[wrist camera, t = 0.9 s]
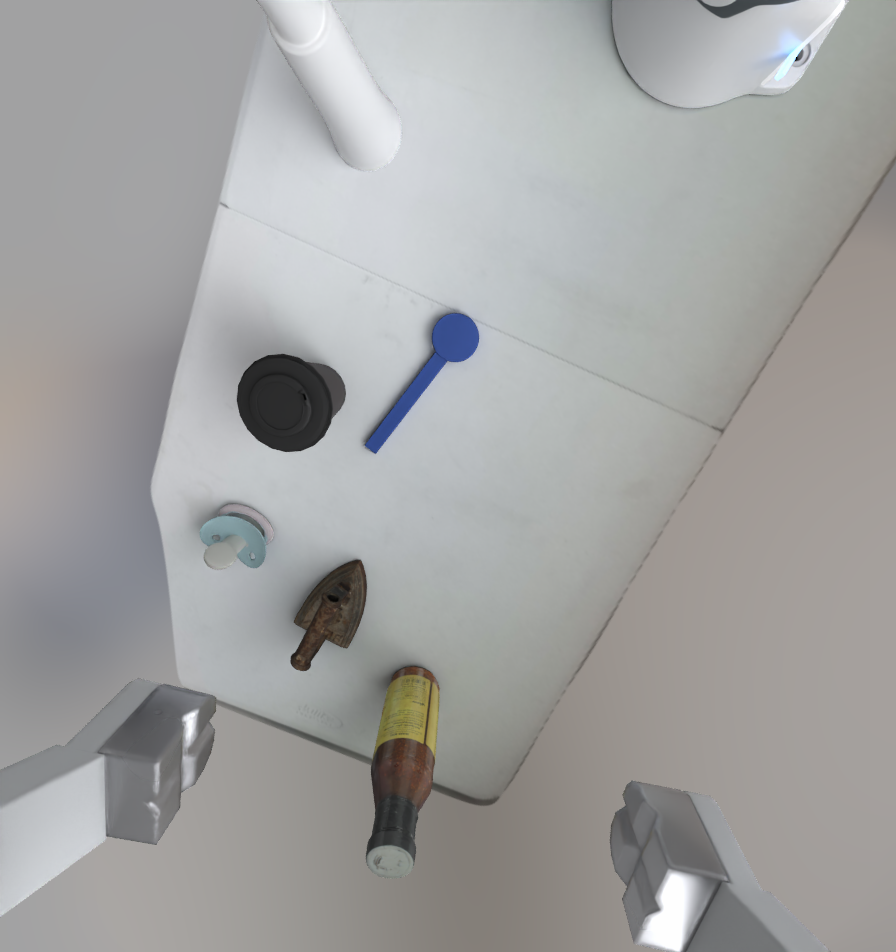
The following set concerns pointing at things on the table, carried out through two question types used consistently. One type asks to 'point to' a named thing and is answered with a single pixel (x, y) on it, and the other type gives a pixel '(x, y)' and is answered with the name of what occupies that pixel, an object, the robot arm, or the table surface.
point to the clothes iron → (331, 612)
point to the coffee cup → (289, 401)
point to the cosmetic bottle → (336, 80)
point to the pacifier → (235, 538)
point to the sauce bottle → (402, 769)
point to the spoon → (431, 369)
